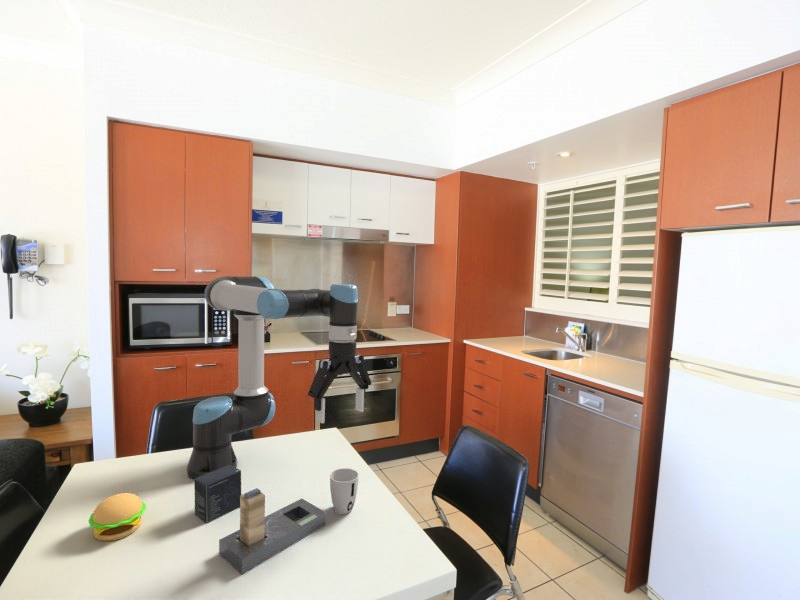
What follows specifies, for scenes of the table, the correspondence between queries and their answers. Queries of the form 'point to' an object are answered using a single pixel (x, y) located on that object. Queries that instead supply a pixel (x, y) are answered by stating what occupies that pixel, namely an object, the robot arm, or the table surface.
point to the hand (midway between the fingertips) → (340, 416)
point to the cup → (343, 489)
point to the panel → (273, 535)
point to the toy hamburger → (117, 516)
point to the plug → (252, 517)
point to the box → (217, 493)
